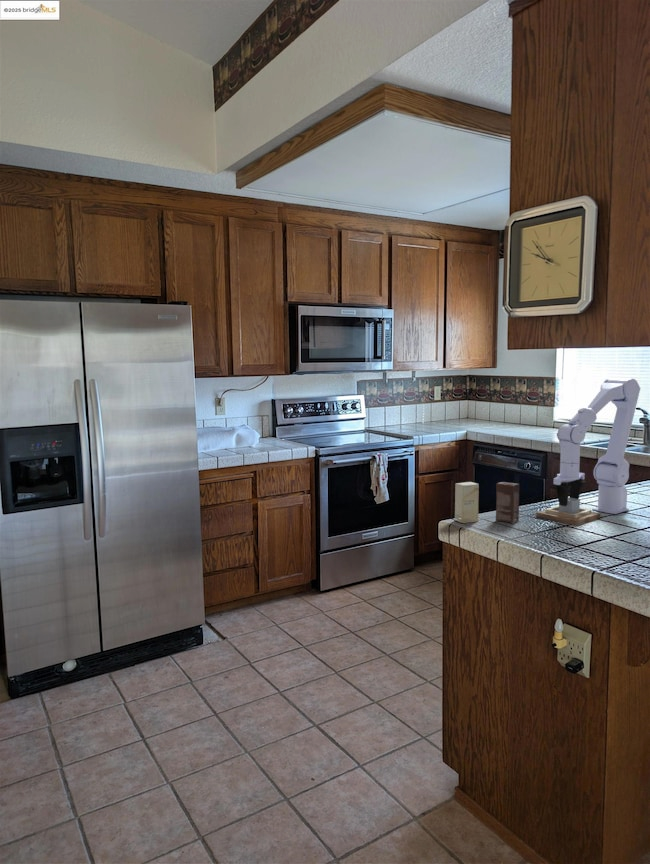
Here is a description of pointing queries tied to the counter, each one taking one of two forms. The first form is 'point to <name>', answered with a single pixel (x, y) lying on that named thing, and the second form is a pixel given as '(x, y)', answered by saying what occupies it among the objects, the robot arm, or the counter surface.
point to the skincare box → (466, 502)
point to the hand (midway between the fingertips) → (568, 503)
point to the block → (571, 506)
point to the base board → (568, 516)
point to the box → (507, 502)
